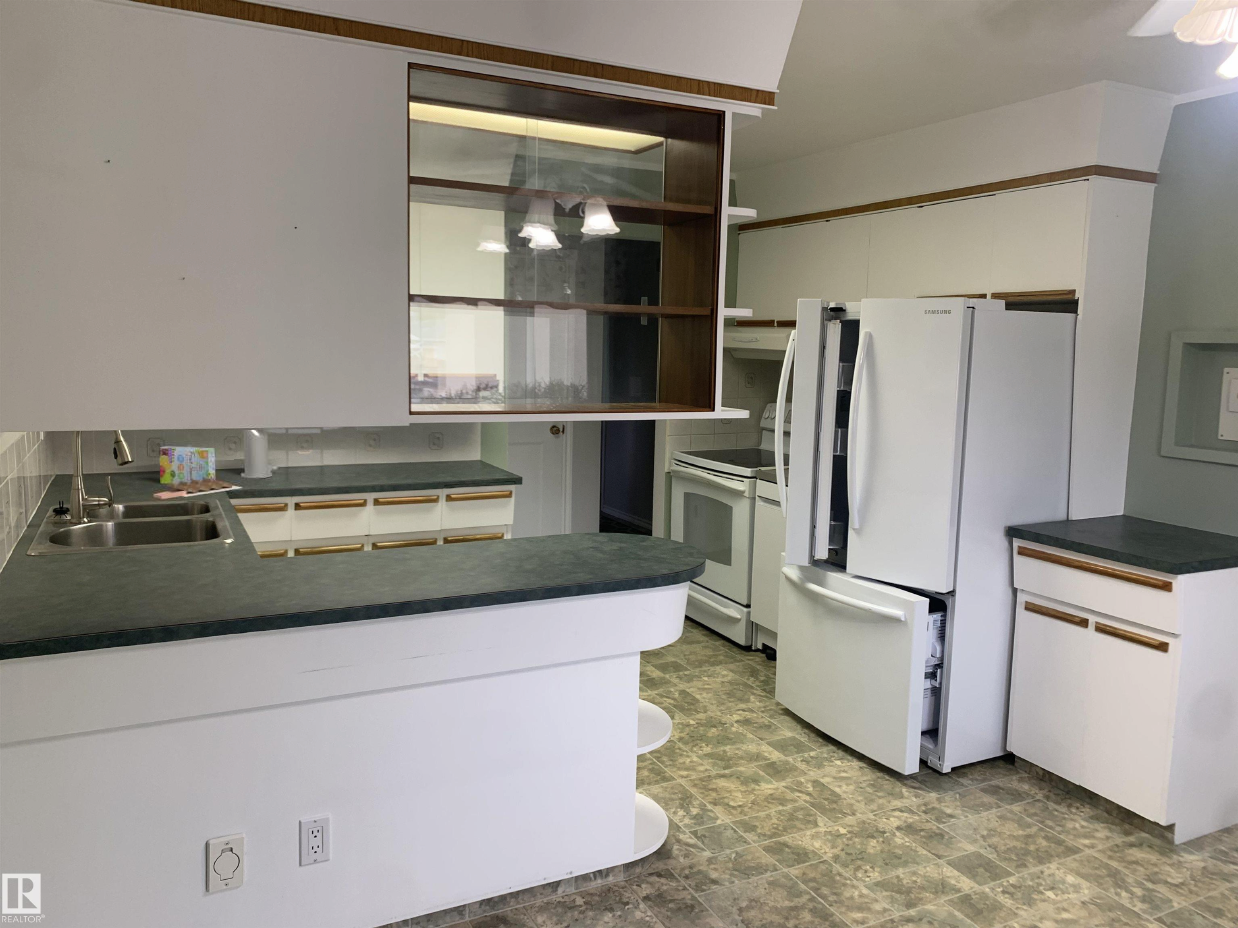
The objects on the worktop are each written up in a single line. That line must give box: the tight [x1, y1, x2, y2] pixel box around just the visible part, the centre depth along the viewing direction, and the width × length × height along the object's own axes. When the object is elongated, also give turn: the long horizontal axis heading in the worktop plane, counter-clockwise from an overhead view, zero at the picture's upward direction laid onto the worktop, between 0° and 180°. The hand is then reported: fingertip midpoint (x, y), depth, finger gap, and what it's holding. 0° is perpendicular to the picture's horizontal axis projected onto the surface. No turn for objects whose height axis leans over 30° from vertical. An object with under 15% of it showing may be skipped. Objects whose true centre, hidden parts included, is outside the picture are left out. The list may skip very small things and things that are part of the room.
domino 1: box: [152, 489, 186, 500], centre depth 333 cm, size 2×5×10 cm
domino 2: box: [166, 482, 199, 493], centre depth 338 cm, size 2×5×10 cm
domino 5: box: [202, 478, 234, 488], centre depth 351 cm, size 2×5×10 cm
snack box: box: [158, 445, 216, 485], centre depth 360 cm, size 21×6×15 cm, turn 84°
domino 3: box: [178, 481, 210, 491], centre depth 342 cm, size 2×5×10 cm
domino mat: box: [182, 485, 243, 498], centre depth 347 cm, size 25×10×1 cm, turn 150°
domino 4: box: [191, 479, 222, 490], centre depth 346 cm, size 2×5×10 cm
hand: (221, 423), depth 360 cm, fingers closed
